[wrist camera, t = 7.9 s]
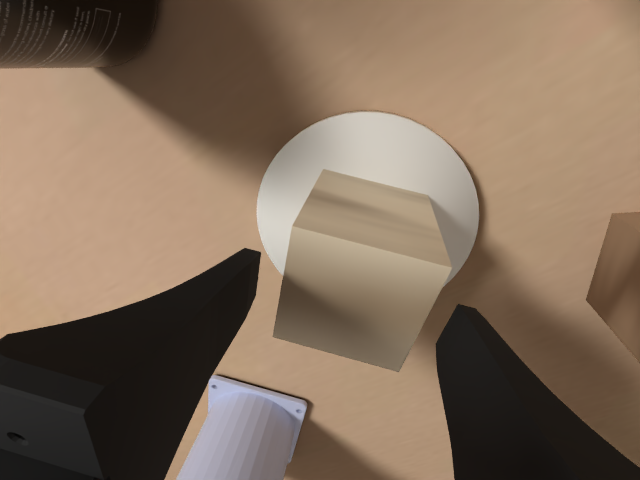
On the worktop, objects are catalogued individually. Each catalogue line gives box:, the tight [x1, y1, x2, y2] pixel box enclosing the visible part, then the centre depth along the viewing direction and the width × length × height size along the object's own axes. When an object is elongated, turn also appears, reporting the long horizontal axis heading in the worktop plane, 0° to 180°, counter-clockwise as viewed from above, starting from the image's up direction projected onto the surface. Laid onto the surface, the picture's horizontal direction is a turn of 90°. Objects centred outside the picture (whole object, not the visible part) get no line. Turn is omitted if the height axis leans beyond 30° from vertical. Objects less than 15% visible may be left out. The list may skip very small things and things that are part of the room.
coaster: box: [257, 110, 479, 287], centre depth 16 cm, size 11×11×1 cm
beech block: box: [273, 169, 452, 372], centre depth 14 cm, size 5×5×6 cm
